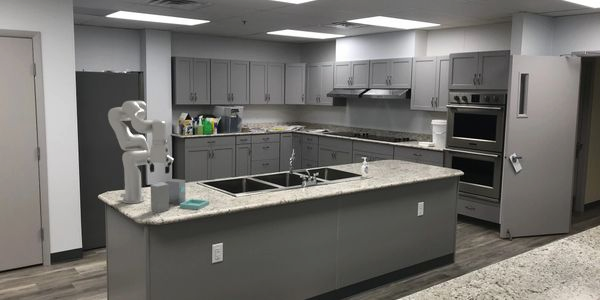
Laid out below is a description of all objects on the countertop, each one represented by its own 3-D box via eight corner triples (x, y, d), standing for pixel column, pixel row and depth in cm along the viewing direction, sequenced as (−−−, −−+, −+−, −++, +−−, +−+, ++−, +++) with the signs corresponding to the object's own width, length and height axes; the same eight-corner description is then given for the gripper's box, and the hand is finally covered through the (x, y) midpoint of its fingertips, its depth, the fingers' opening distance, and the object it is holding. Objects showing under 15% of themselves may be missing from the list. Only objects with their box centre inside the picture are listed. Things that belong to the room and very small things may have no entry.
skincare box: (162, 208, 284) (162, 181, 282) (169, 210, 279) (169, 183, 277) (150, 210, 277) (149, 183, 275) (157, 213, 273) (156, 185, 271)
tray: (179, 207, 286) (179, 203, 286) (191, 202, 299) (191, 198, 299) (198, 209, 283) (198, 205, 282) (209, 204, 295) (209, 200, 295)
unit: (164, 203, 294) (163, 181, 292) (172, 200, 302) (171, 178, 301) (180, 205, 291) (179, 182, 289) (187, 202, 299) (187, 179, 297)
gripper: (176, 142, 274) (176, 172, 277) (149, 141, 279) (150, 170, 281) (169, 144, 267) (169, 174, 269) (141, 142, 272) (142, 172, 274)
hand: (159, 172), depth 275 cm, fingers open, 9 cm apart
